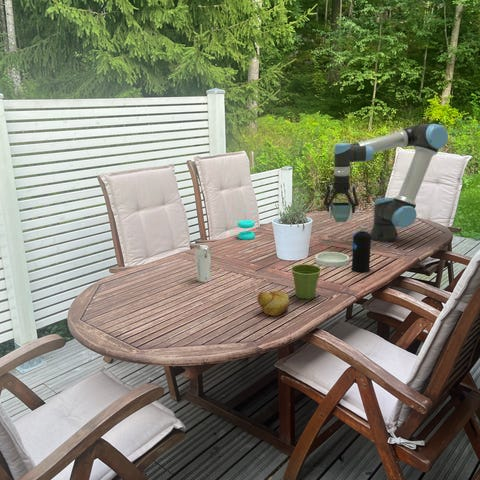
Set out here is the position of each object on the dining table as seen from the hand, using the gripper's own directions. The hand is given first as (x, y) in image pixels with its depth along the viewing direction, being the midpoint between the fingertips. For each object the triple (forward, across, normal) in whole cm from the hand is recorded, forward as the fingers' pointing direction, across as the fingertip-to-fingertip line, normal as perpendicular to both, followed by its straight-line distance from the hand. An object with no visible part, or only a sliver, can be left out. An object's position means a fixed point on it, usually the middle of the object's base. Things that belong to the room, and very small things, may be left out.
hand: (340, 218), depth 224 cm
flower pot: (+1, 0, 0) cm, 1 cm away
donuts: (+17, -56, +8) cm, 59 cm away
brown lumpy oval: (+17, -8, -80) cm, 82 cm away
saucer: (+17, 0, -18) cm, 25 cm away
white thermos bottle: (+16, -48, -61) cm, 79 cm away
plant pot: (+17, -1, -64) cm, 66 cm away
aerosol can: (+17, +14, -26) cm, 34 cm away
